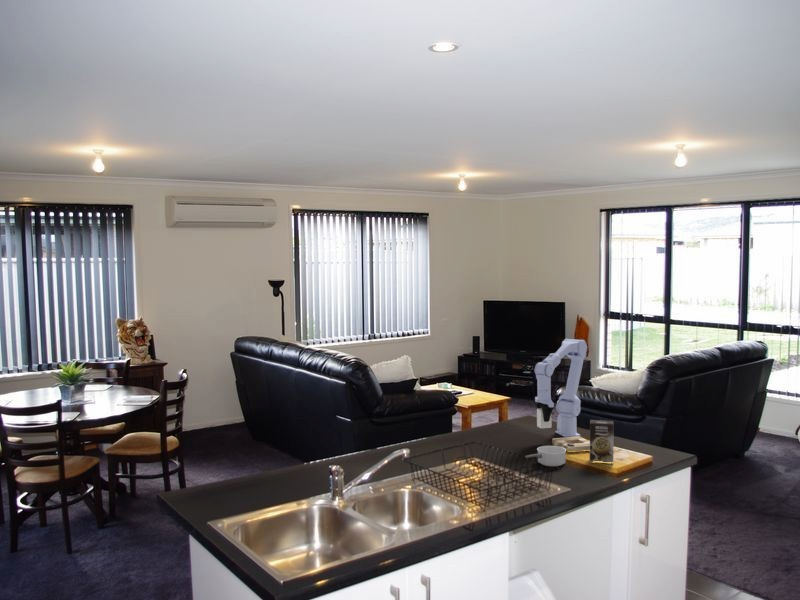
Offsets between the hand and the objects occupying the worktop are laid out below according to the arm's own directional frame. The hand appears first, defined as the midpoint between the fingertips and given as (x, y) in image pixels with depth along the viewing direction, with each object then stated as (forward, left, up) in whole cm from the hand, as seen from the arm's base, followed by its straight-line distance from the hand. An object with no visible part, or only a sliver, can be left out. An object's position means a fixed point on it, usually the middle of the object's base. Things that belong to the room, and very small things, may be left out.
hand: (544, 420), depth 297 cm
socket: (+11, +8, -10) cm, 17 cm away
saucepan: (+30, -15, -10) cm, 35 cm away
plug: (0, 0, -3) cm, 3 cm away
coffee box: (+33, +8, -10) cm, 36 cm away
